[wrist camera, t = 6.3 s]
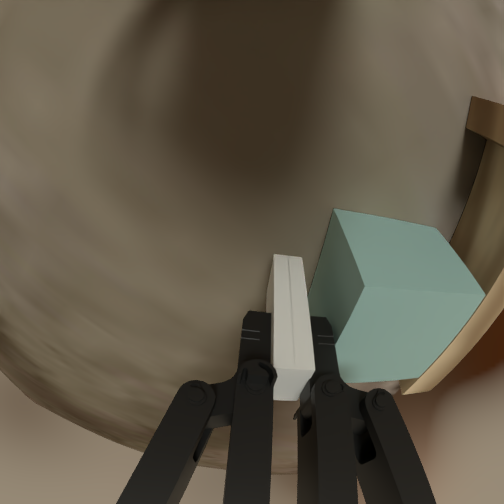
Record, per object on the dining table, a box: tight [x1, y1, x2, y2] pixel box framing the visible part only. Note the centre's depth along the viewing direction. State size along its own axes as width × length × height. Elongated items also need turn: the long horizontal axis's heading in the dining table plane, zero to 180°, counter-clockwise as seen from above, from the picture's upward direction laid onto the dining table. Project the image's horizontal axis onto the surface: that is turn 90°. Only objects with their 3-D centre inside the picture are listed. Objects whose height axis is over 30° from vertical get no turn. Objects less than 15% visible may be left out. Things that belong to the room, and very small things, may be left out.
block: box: [307, 209, 485, 383], centre depth 13 cm, size 7×7×6 cm
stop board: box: [399, 96, 504, 395], centre depth 13 cm, size 5×20×5 cm, turn 174°
